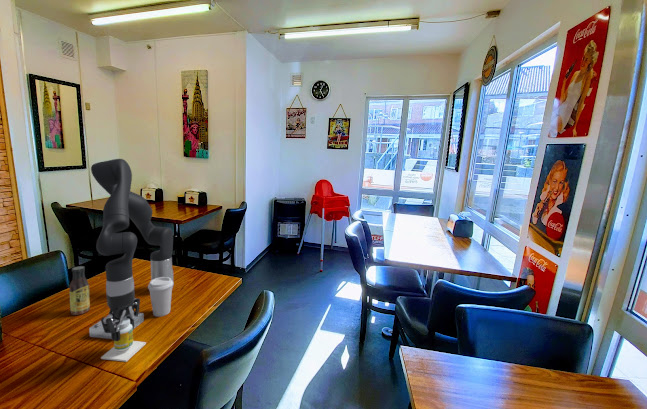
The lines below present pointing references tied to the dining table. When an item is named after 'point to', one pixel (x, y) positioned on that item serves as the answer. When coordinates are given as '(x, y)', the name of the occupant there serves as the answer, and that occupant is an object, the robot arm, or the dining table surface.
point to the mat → (123, 352)
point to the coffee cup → (161, 295)
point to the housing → (99, 331)
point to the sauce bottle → (79, 292)
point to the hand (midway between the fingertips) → (123, 334)
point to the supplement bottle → (124, 336)
